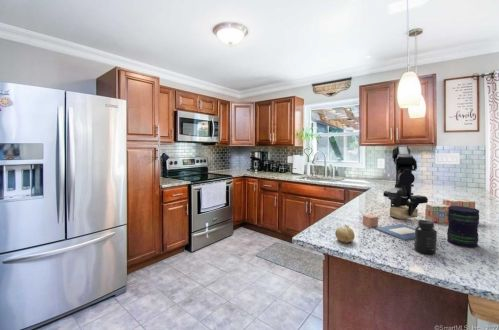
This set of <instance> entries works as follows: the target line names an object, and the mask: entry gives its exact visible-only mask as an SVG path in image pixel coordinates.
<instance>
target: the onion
mask: <svg viewBox="0 0 499 330" xmlns="http://www.w3.org/2000/svg"><path fill="white" fill-rule="evenodd" d="M334 234H335V237H336V239H337V241H338V242H340V243H345V244H349V242H350V243H352V242H353V241H354V240H355V236H356V235H355V232H354V230H353V229H352V228H351V227H350V226H349V225H347V224H344V226H339V227H338V228H337V229H336V230H335V233H334Z"/></svg>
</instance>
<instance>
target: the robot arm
mask: <svg viewBox="0 0 499 330" xmlns="http://www.w3.org/2000/svg"><path fill="white" fill-rule="evenodd" d="M391 159H393V160H392V161H393V163H394V165H395V183H394V187H392V188H389V189H388V190H384V191H383V192H382V193H383V197H384V198H385V197H386V198H387V199H388V200H390V207H401V206H408V207H409V208H408V214H409V216H411V215H412V214H413V212H414V210H415V209H417V208H418V206H419V205H421V204H429V203H428V201H429V199H428V197H427V196H425V195H419V194H417V195H414V192H412V188H413V187H414V184H413V183H414V182H415V180H416V179H415V175H414V174H413V172H416V171H417V170H418V165H417V164H418V163H417V160H416V158H415V157H414V156H413V155H412V154H411V149H410V148H409V146H408V145H407V144H405V145H404V144H402V145H397V146H396V147H395V148H393V149H392V152H391ZM412 171H413V172H412ZM389 217H391V218H394V219H397V220H400V219H399V218H396V217H393V216H390V215H389ZM403 220H406V218H404V219H403Z"/></svg>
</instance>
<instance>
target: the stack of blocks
mask: <svg viewBox="0 0 499 330" xmlns="http://www.w3.org/2000/svg"><path fill="white" fill-rule="evenodd" d="M449 206H461V207H469V208H474V209H476V201H474V200H470V199H463V198H462V199H461V198H442V203H439V204H438V203H425V211H424V212H425V216H424V217H425V218H424V220H427V221H431V222H433V223H434V224H435V223H436V224H448V223H449V220H448V210H449V209H448V207H449Z"/></svg>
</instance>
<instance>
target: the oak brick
mask: <svg viewBox="0 0 499 330" xmlns="http://www.w3.org/2000/svg"><path fill="white" fill-rule="evenodd" d="M408 208H409V207H408V206H406V205H405V206H401V207H391V206H390V207H389V217H390V216H393V217H392V218H394V217H396V218H395V219H397V218H399V219H398V220H405V219H411V218H412V219H413V218H414V219H415V218H418V211H419V210H418V209H419V208H416V209H415V210H414V212H413V214H412V215H411V216H409V214H408ZM404 218H405V219H404Z"/></svg>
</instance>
